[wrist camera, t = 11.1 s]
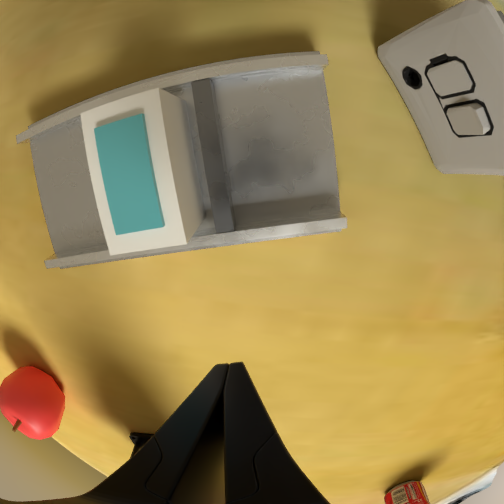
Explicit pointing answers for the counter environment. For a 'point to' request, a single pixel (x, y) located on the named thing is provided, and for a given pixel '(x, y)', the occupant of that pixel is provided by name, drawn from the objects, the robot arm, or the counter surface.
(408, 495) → the soda can
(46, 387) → the apple
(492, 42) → the electrical switch
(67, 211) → the grey tray
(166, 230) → the module
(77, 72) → the counter surface
